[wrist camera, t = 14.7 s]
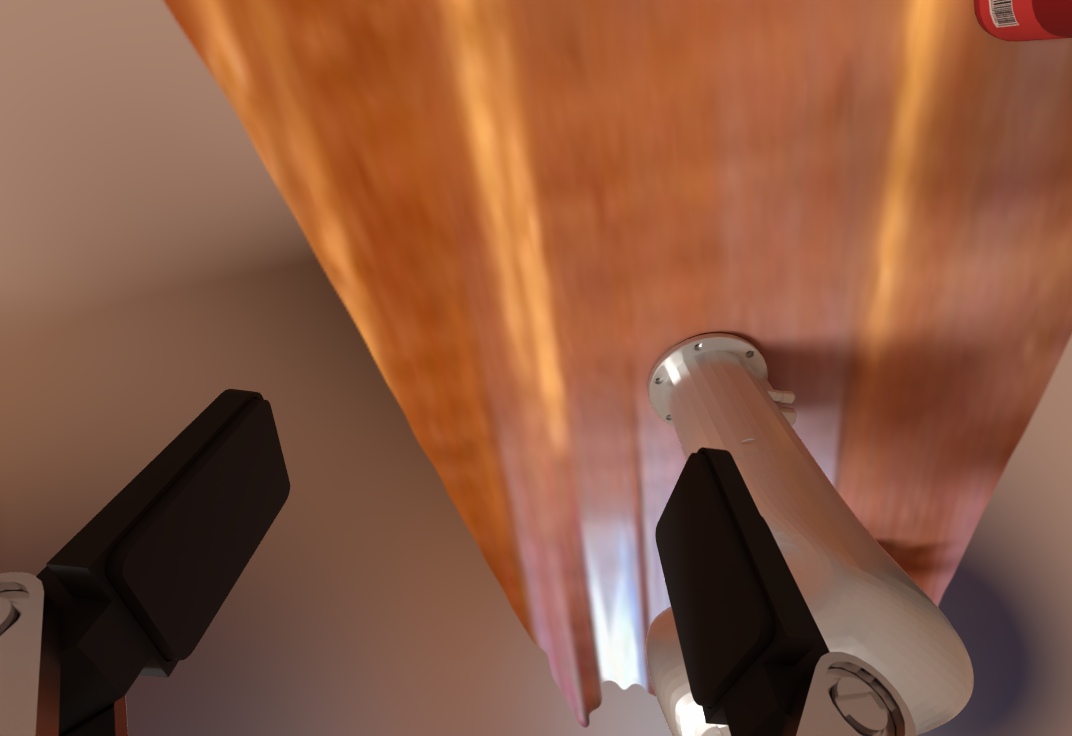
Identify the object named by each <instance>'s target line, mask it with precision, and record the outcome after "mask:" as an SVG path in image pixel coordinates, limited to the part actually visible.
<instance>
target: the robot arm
mask: <svg viewBox="0 0 1072 736" xmlns="http://www.w3.org/2000/svg"><path fill="white" fill-rule="evenodd" d="M767 379H768V371H767V365H766V363H765V360H764V358H763V356H762V355H761V354H760V352H759V351H758V350H757V349H756V348H755V347H754V346H753V345H752V344H751V343H750V342H748V341H746V340H745V339H743V338H741V337H738V336H735V335H731V334H724V333H709V334H704V335H699V336H695V337H693V338H690V339H687V340H685V341H683V342H681V343H679V344H677V345H675V346H674V347H673V348H671V349H670V350H669V351H667V352H666V353H665V354H664V355H663V356H662V357H661V358H660V359H659V360H658V362H657V363H656V365H655V366H654V368H653V370H652V372H651V375H650V377H649V382H648V396H649V399H650V403H651V405H652V407H653V409H654V411H655V412H656V414H657V415H658V416H659V417H660V418H661V419H662V420H663V421H665V422H666V423H668V424H670V425H672V426H674V427H675V430H676V433H677V435H678V438H679V441H680V444H681V446H682V449H683V452H684V455H685V458H686V460H687V462H686V464H685V466H684V468H683V470H682V473H681V475H680V477H679V479H678V481H677V483H676V485H675V488H674V490H673V492H672V494H671V496H670V498H669V500H668V503H667V505H666V507H665V509H664V511H663V513H662V515H661V517H660V520H659V522H658V524H657V527H656V543H657V547H658V551H659V556H660V560H661V564H662V569H663V573H664V577H665V582H666V586H667V590H668V595H669V599H670V603H671V607H669V608H667V609H666V610H664V611H663V612H661V613H660V614H659V615H658V616H657V617H656V618H655V619H654V620H653V622H652V623H651V626H650V628H649V630H648V634H647V639H646V657H647V664H648V669H649V673H650V677H651V681H652V684H653V687H654V690H655V693H656V696H657V699H658V702H659V704H660V707H661V709H662V712H663V714H664V717H665V719H666V722H667V724H668V726H669V729H670V731H671V733H672V735H673V736H916V735H918V734H921V733H924V732H927V731H929V730H931V729H934V728H936V727H938V726H940V725H942V724H944V723H946V722H948V721H949V720H951V719H952V718H953V717H955V716H956V715H957V714H958V713H959V712H960V711H961V710H962V709H963V708H964V707H965V705H966V704H967V702H968V700H969V698H970V696H971V694H972V690H973V682H974V681H973V680H974V678H973V669H972V665H971V661H970V658H969V655H968V653H967V651H966V648H965V646H964V645H963V643H962V641H961V639H960V638H959V636H958V635H957V633H956V632H955V630H954V629H953V627H952V626H951V624H950V623H949V621H948V620H947V618H946V617H945V616H944V615H943V613H942V612H941V611H940V610H939V609H938V607H937V606H936V605H935V604H934V603H933V601H932V600H931V599H930V598H929V597H928V596H927V594H926V593H925V592H924V591H923V590H922V589H921V588H920V587H919V586H918V585H917V584H916V583H915V582H914V581H913V579H912V578H911V577H910V576H909V575H908V574H907V573H906V572H905V571H904V570H903V569H902V568H901V567H900V566H899V565H898V564H897V563H896V561H895V560H894V559H893V558H892V557H891V556H890V555H889V554H888V553H887V552H886V551H885V550H884V549H883V547H882V546H881V545H880V544H879V543H878V542H877V541H876V539H875V538H874V537H873V536H872V535H871V534H870V532H869V531H868V530H867V529H866V528H865V527H864V526H863V524H862V523H861V522H860V521H859V520H858V518H857V517H856V516H855V514H854V513H853V512H852V510H851V509H850V508H849V507H848V505H847V504H846V503H845V501H844V500H843V499H842V497H841V496H840V495H839V493H838V492H837V491H836V489H835V488H834V486H833V485H832V484H831V482H830V481H829V479H828V478H827V477H826V475H825V474H824V472H823V471H822V469H821V468H820V467H819V465H818V464H817V462H816V461H815V459H814V458H813V457H812V455H811V454H810V452H809V451H808V449H807V448H806V446H805V445H804V444H803V442H802V441H801V439H800V438H799V436H798V435H797V433H796V432H795V431H794V429H793V428H792V426H791V425H793V424H794V423H795V420H796V412H795V410H794V409H792V408H786V407H778V406H777V405H776V403H775V402H774V401H776V402H779V403H787V404H791V403H793V401H794V399H795V395H794V392H792V391H788V390H775V389H773V387H772V386H771V385H770V384H769V382H768V381H767ZM289 491H290V482H289V478H288V474H287V470H286V466H285V462H284V458H283V454H282V450H281V446H280V442H279V438H278V434H277V429H276V425H275V422H274V418H273V413H272V410H271V406H270V403H269V402H268V401H267V400H264V399H263V397H262V395H261V394H260V393H258V392H252V391H244V390H236V389H228V390H225V391H224V392H223V393H221V394H220V395H219V396H218V397H217V398H216V399H215V400H214V401H213V402H212V403H211V404H210V405H209V406H208V407H207V408H206V409H205V410H204V411H203V412H202V413H201V414H200V415H199V416H198V417H197V418H196V419H195V420H194V421H193V422H192V423H191V424H190V425H189V426H187V427H186V429H184V430H183V431H182V432H181V433H180V434H179V435H178V436H177V437H176V438H175V439H174V440H173V441H172V442H171V443H170V444H169V445H168V446H167V447H166V448H165V449H164V450H163V451H162V452H161V453H160V454H159V455H158V456H157V457H156V458H155V459H154V460H153V461H151V462H150V463H149V464H148V465H147V466H146V467H145V468H144V469H143V470H142V471H141V472H140V473H139V474H138V475H137V476H136V477H135V478H134V479H133V480H132V481H131V482H130V483H129V484H128V485H127V486H126V487H125V488H124V489H123V490H122V491H121V492H120V493H119V494H118V495H117V496H115V497H114V498H113V499H112V500H111V501H110V502H109V503H108V504H107V505H106V506H105V507H104V508H103V509H102V510H101V511H100V512H99V513H98V514H97V515H96V516H95V517H94V518H93V519H92V520H91V521H90V522H89V523H88V524H87V525H86V526H85V527H84V528H83V529H82V530H81V531H80V532H79V533H77V535H76V536H74V537H73V538H72V539H71V540H70V541H69V542H68V543H67V544H66V545H65V546H64V547H63V548H62V549H61V550H60V551H59V552H58V553H57V554H56V555H55V556H54V557H53V558H52V559H51V560H50V561H49V562H48V563H47V564H46V565H47V566H46V567H45V568H44V569H43V570H42V571H41V572H40V573H39V574H38V575H37V576H36V577H35V576H34V575H32V574H27V573H21V572H12V573H1V574H0V736H128V727H127V711H126V695H125V694H126V693H127V691H128V690H129V688H130V687H131V685H132V684H133V682H134V681H135V680H136V678H137V677H138V675H143V676H155V677H169V676H170V674H171V672H172V671H173V669H174V668H175V666H176V664H177V663H178V661H179V660H184V659H186V658H187V657H188V656H189V655H190V654H191V653H192V652H193V650H194V649H195V647H196V646H197V644H198V643H199V641H200V639H201V638H202V636H203V635H204V633H205V631H206V630H207V628H208V627H209V625H210V623H211V622H212V620H213V618H214V617H215V615H216V614H217V612H218V610H219V609H220V607H221V605H222V604H223V602H224V601H225V599H226V597H227V596H228V594H229V592H230V591H231V589H232V588H233V586H234V584H235V583H236V581H237V579H238V578H239V576H240V575H241V573H242V571H243V569H244V568H245V567H246V565H247V563H248V562H249V559H250V558H251V557H252V555H253V554H254V552H255V550H256V549H257V547H258V545H259V544H260V542H261V541H262V539H263V537H264V536H265V534H266V532H267V531H268V529H269V528H270V526H271V524H272V523H273V521H274V519H275V518H276V516H277V515H278V513H279V511H280V510H281V508H282V507H283V505H284V503H285V502H286V500H287V498H288V495H289Z"/></svg>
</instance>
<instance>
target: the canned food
mask: <svg viewBox="0 0 1072 736" xmlns="http://www.w3.org/2000/svg"><path fill="white" fill-rule="evenodd" d="M974 8H975V14H976V17H977V20H978V23H979V24H980V25H981V27H982V28H983V29H984V30H985V31H986V32H988V33H989V34H991V35H993V36H995V37H997V38H1000V39H1003V40H1007V41H1028V40H1043V39H1058V38H1072V0H974Z"/></svg>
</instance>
